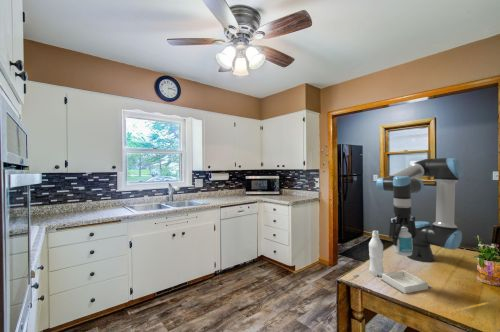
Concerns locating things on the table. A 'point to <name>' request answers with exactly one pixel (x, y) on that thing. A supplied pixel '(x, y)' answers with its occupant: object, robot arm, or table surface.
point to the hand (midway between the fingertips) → (403, 250)
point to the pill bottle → (405, 242)
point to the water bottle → (376, 255)
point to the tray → (404, 281)
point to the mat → (399, 290)
